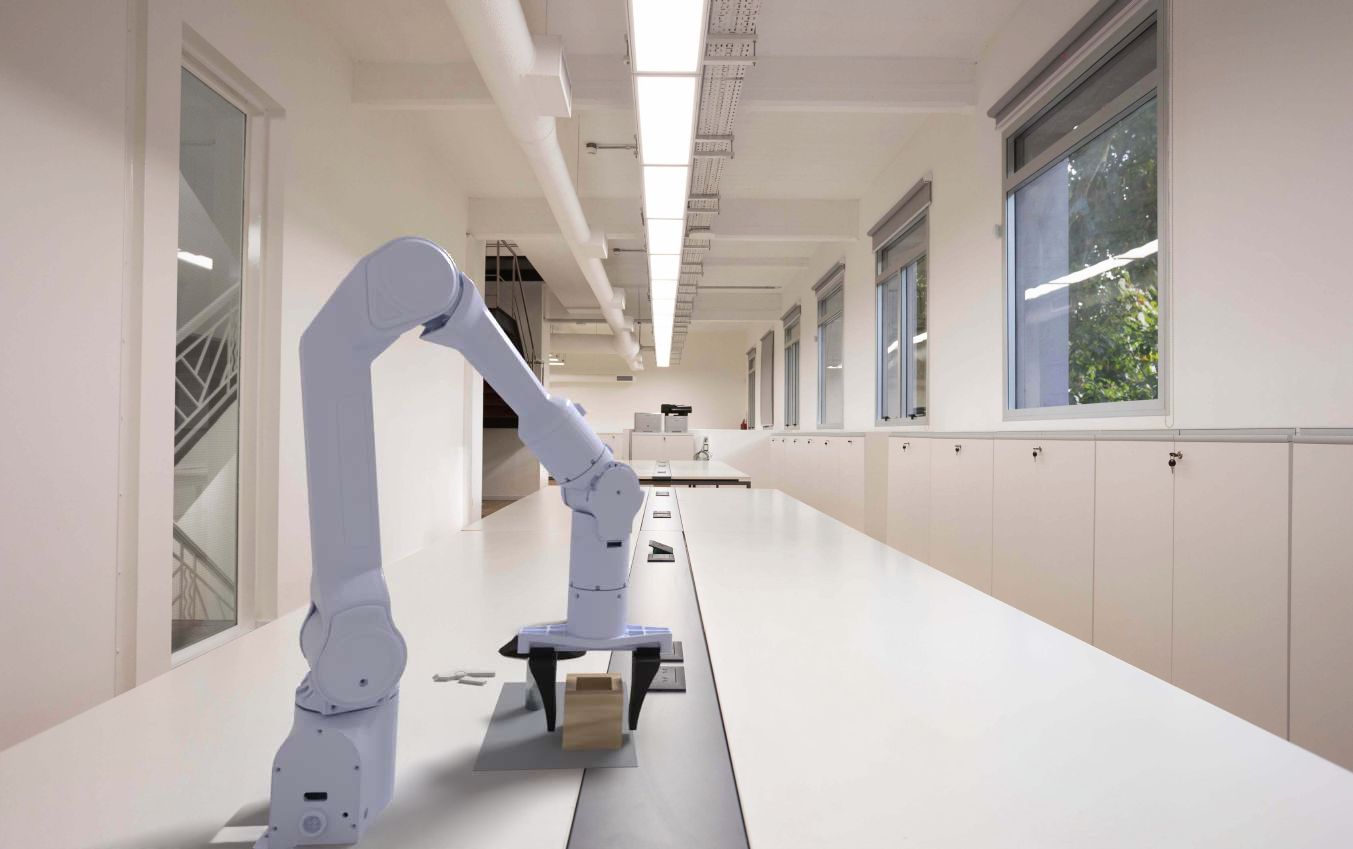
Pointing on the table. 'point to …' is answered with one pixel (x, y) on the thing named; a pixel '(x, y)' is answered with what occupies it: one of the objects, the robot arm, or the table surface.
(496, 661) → the table surface
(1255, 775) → the table surface
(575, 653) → the gaming mouse
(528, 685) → the steel post
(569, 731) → the birch collar
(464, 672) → the pliers
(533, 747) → the slate board
